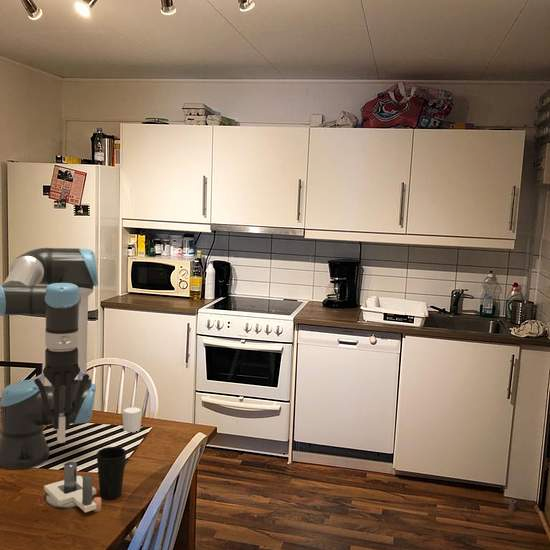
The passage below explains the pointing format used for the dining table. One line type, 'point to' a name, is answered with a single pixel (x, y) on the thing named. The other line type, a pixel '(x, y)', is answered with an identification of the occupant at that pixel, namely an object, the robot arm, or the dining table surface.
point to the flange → (74, 493)
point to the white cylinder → (131, 419)
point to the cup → (111, 471)
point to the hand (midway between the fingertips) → (61, 440)
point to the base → (67, 485)
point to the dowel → (97, 504)
